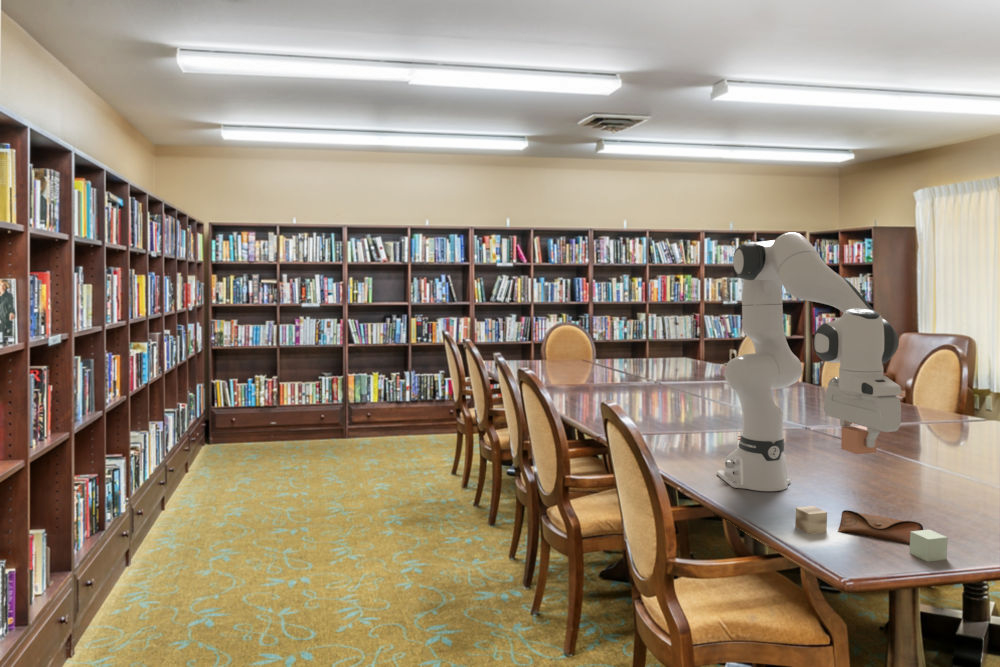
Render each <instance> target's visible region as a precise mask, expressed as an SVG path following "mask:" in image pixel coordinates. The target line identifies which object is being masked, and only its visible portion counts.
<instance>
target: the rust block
mask: <svg viewBox="0 0 1000 667" xmlns="http://www.w3.org/2000/svg"><path fill="white" fill-rule="evenodd" d="M868 434H869V432H867V427H865V426H861V425H855V426H854V425H853V426H851V427H842V428H841V445H840V446H841V448H840V449H841V450H844V451H846V452H849V453H851V454H855V455H861V454H862V455H863V454H864V455H865V454H876V453H877V442H878V441H877V438H878V437H877V438H876V439H875V447H872V448H869V447H866V446H864V438H867V436H868Z"/></svg>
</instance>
